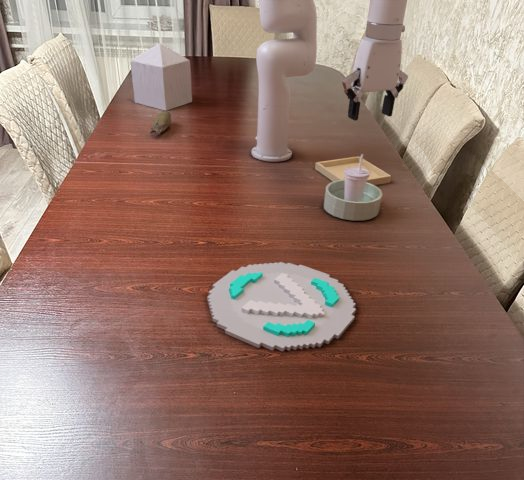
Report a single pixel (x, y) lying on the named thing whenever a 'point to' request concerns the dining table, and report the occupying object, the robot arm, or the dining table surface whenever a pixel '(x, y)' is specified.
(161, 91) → the decorative block
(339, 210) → the bowl
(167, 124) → the decorative bird model
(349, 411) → the dining table surface
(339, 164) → the tray
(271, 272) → the grey pixelated disc
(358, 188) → the smoothie
